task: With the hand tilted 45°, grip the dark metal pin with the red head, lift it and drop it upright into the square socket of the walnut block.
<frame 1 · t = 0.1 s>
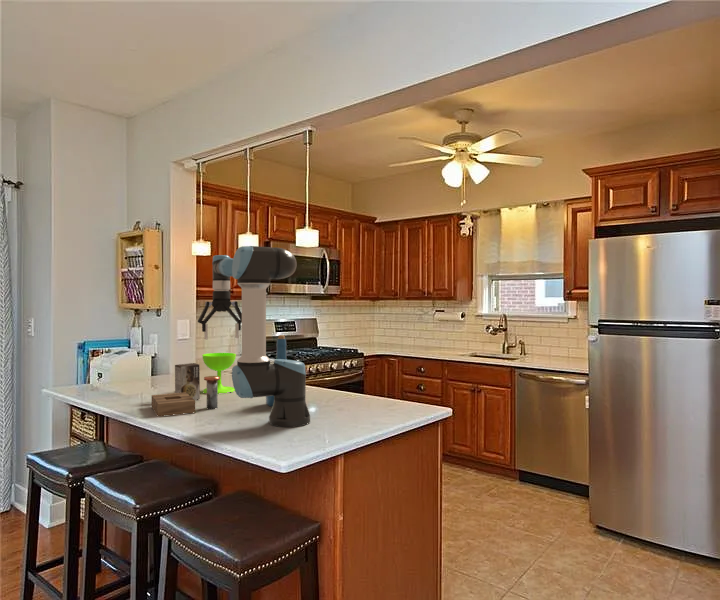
hand: (221, 338, 235), 28 cm above the table, tool pointing down, fingers open, 13 cm apart
wine bottle: (281, 405, 229), on the table
walnut socket block: (172, 409, 218), on the table
wineglass: (219, 391, 261), on the table
metal pin: (212, 408, 222), on the table
coffee box: (187, 400, 238), on the table
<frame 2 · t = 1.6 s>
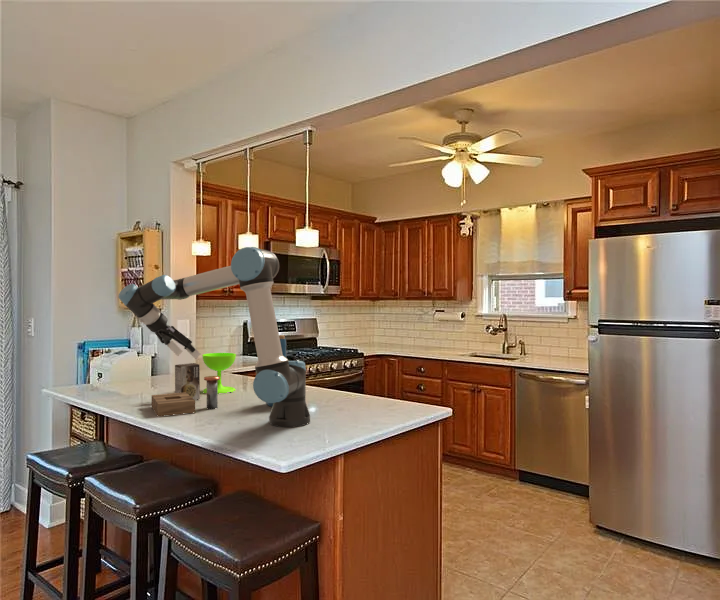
hand: (188, 355, 214), 23 cm above the table, tool tilted 45°, fingers open, 13 cm apart
nothing on the table moved.
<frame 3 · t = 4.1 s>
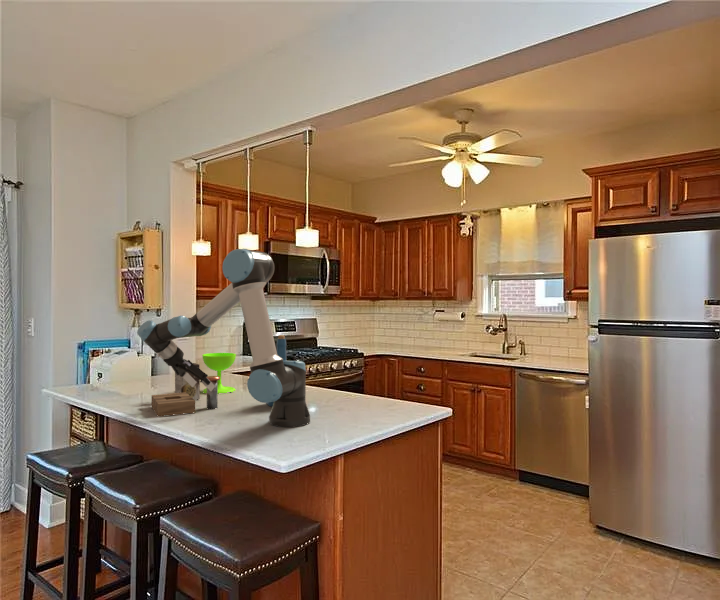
hand: (203, 386, 220), 9 cm above the table, tool tilted 45°, fingers open, 13 cm apart
nothing on the table moved.
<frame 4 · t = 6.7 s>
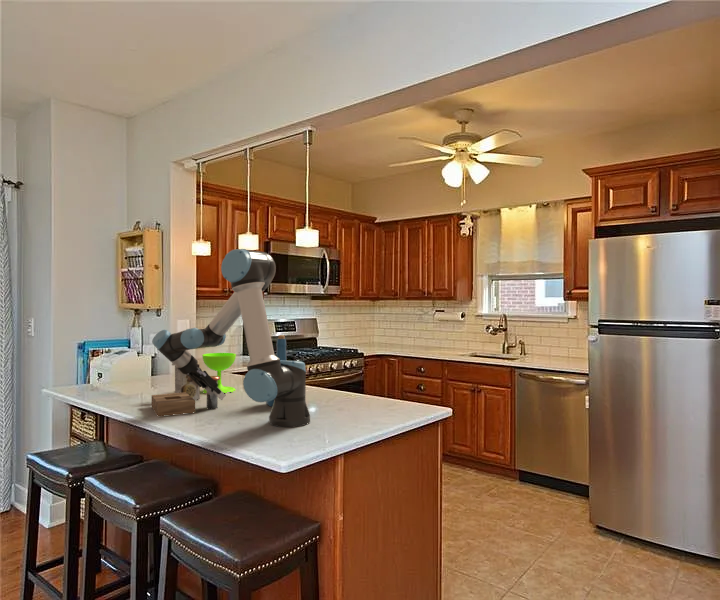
hand: (219, 396, 225), 4 cm above the table, tool tilted 45°, fingers closed on metal pin, 4 cm apart
metal pin: (212, 408, 222), on the table, touching gripper
everything else where it was.
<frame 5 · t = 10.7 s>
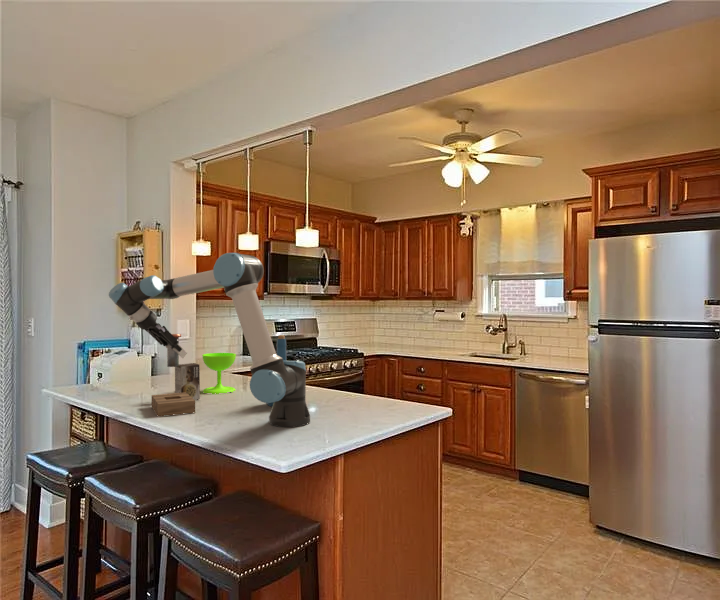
hand: (181, 355, 221), 22 cm above the table, tool tilted 45°, fingers closed on metal pin, 4 cm apart
metal pin: (173, 366, 218), point 18 cm above the table, touching gripper
everything else where it was.
when the fingers open (7 cm above the table, at t = 15.0 s): metal pin drops 1 cm, resting on walnut socket block.
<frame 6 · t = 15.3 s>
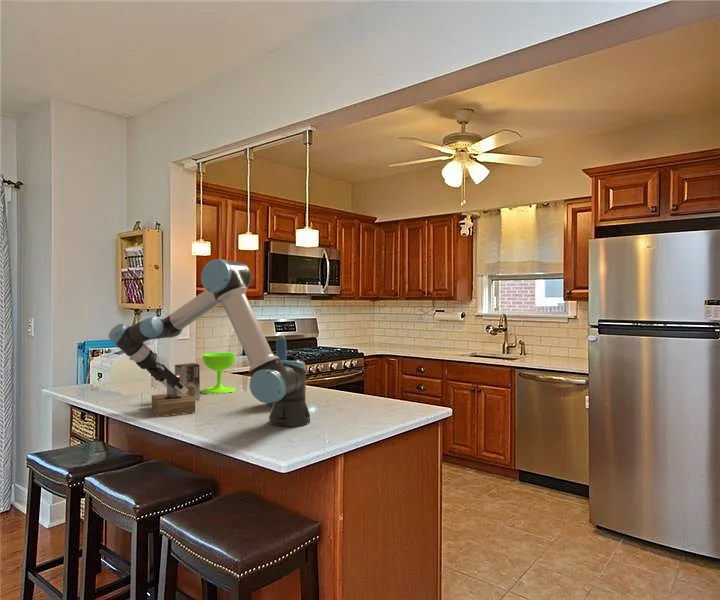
hand: (180, 391, 221), 7 cm above the table, tool tilted 45°, fingers open, 9 cm apart
metal pin: (172, 407, 218), point 1 cm above the table, touching walnut socket block
everything else where it was.
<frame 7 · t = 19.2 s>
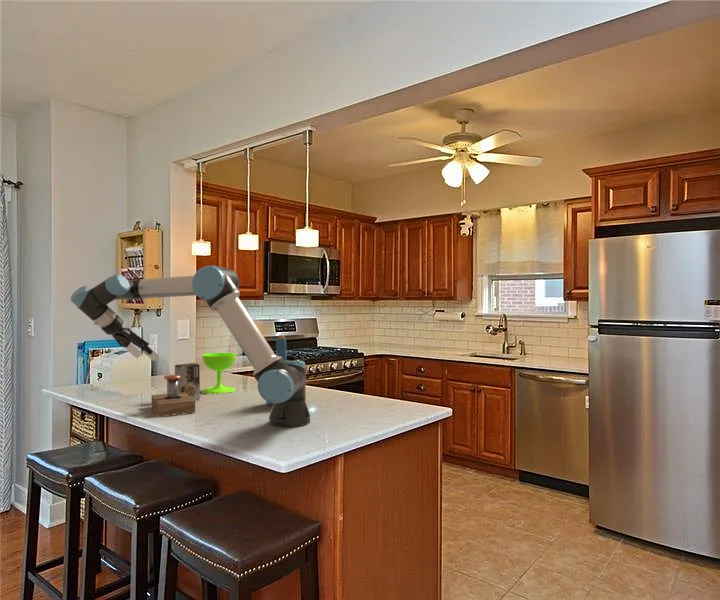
hand: (147, 357, 210), 22 cm above the table, tool tilted 45°, fingers open, 13 cm apart
nothing on the table moved.
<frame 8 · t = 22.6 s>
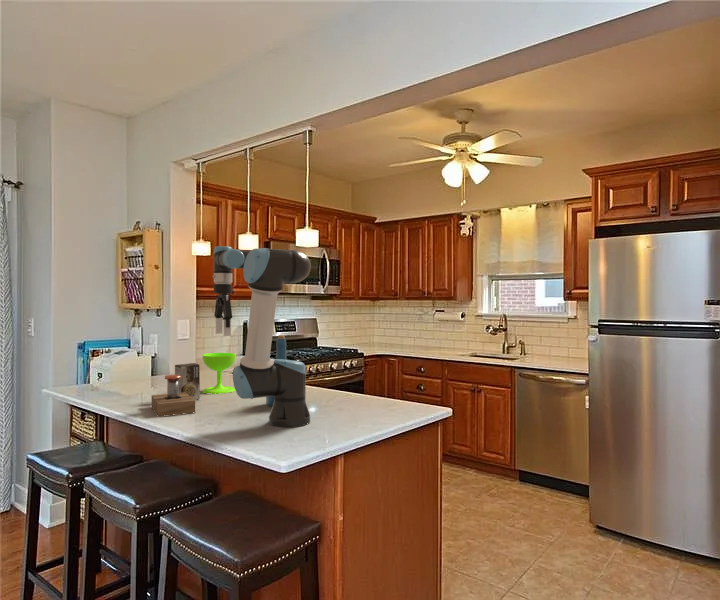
hand: (222, 334, 222), 31 cm above the table, tool pointing down, fingers open, 13 cm apart
nothing on the table moved.
at the end: metal pin 0.1 cm off-centre on the walnut socket block, point 1.0 cm above the walnut socket block's base; metal pin tilted 1°; the gripper is holding nothing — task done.
